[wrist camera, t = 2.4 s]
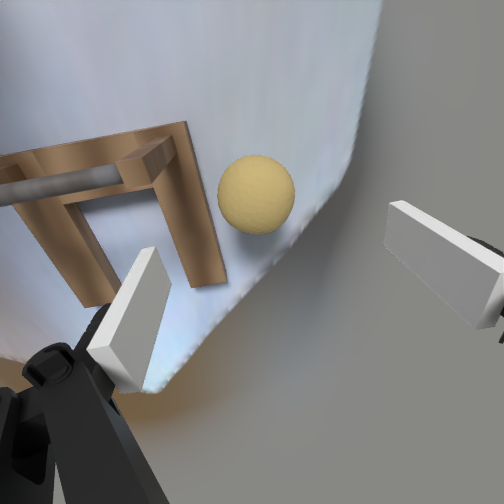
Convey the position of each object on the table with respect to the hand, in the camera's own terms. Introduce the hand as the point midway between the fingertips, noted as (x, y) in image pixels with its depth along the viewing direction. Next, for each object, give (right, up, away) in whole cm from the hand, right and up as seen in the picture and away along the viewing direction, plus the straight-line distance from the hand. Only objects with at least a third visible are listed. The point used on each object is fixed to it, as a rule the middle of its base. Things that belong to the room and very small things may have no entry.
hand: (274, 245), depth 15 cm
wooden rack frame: (-15, +3, +14) cm, 21 cm away
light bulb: (-2, +8, +13) cm, 15 cm away
